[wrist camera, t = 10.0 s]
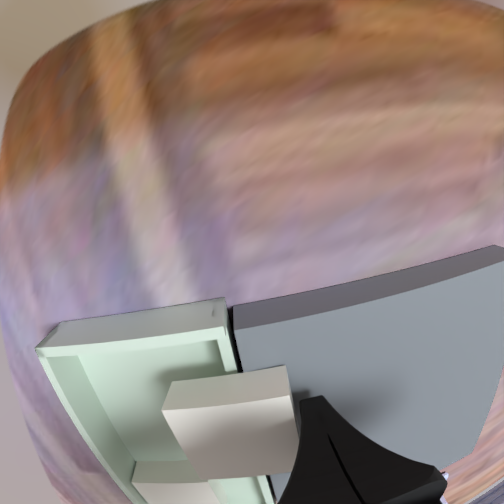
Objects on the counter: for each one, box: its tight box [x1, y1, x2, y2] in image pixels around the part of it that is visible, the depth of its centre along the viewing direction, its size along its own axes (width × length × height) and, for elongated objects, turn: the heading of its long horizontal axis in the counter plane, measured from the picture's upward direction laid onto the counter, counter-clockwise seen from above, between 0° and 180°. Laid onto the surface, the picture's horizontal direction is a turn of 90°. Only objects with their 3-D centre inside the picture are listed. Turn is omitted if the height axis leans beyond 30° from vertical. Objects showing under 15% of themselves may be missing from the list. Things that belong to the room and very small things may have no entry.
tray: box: [35, 297, 276, 504], centre depth 15 cm, size 18×9×3 cm, turn 10°
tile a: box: [131, 460, 227, 504], centre depth 16 cm, size 5×5×2 cm
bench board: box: [233, 245, 504, 502], centre depth 15 cm, size 17×16×2 cm
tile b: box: [161, 365, 300, 480], centre depth 12 cm, size 5×5×2 cm
